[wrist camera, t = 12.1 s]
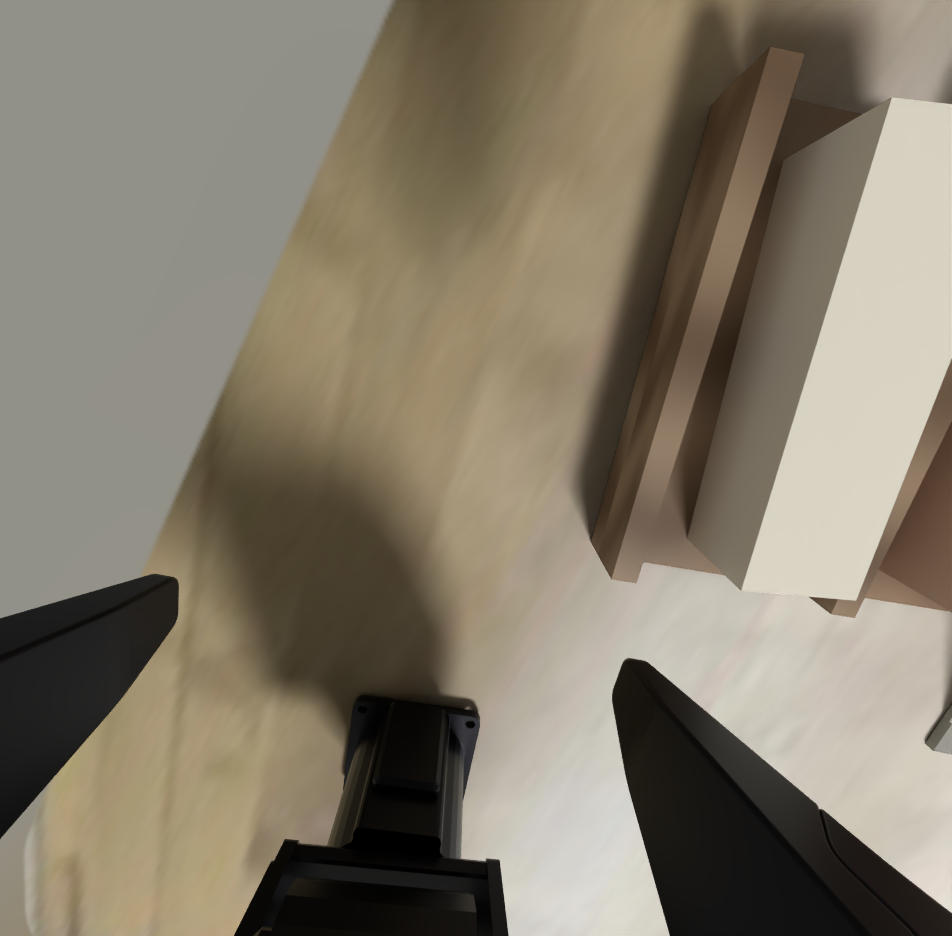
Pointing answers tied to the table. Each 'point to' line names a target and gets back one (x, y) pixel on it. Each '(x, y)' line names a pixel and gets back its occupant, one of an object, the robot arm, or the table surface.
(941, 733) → the skyscraper
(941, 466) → the light brown wooden block
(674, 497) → the drying rack
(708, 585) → the table surface
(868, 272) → the clay strip
